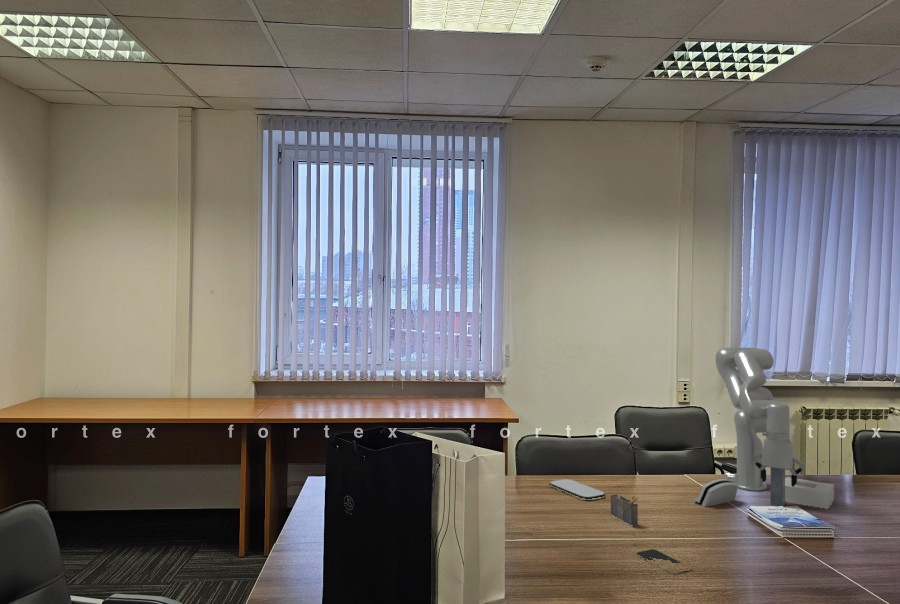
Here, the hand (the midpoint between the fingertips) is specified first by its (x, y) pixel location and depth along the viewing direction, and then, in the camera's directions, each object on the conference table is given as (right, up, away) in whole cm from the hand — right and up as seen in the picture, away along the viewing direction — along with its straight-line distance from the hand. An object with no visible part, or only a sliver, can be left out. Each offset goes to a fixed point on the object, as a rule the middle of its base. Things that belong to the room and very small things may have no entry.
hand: (778, 483), depth 223 cm
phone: (-61, -7, -52) cm, 80 cm away
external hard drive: (-72, -8, +15) cm, 74 cm away
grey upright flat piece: (-62, -8, -18) cm, 65 cm away
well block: (+14, -8, +6) cm, 17 cm away
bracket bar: (0, -8, 0) cm, 8 cm away
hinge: (-22, -8, +2) cm, 23 cm away
